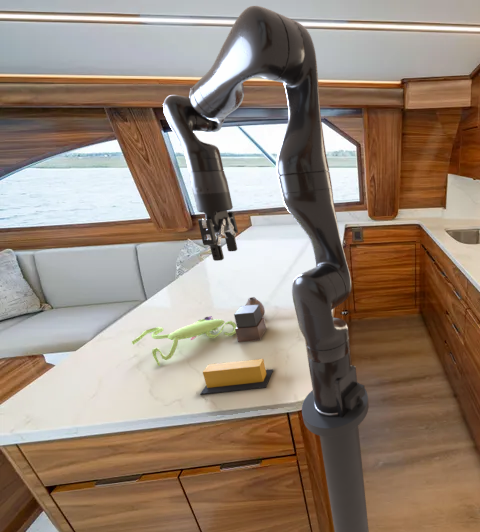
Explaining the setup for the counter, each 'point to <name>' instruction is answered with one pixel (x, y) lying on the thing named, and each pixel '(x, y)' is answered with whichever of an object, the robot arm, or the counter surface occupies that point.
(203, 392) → the mat
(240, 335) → the tower base
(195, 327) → the figurine
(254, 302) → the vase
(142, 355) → the counter surface
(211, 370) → the bar
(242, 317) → the tower top
